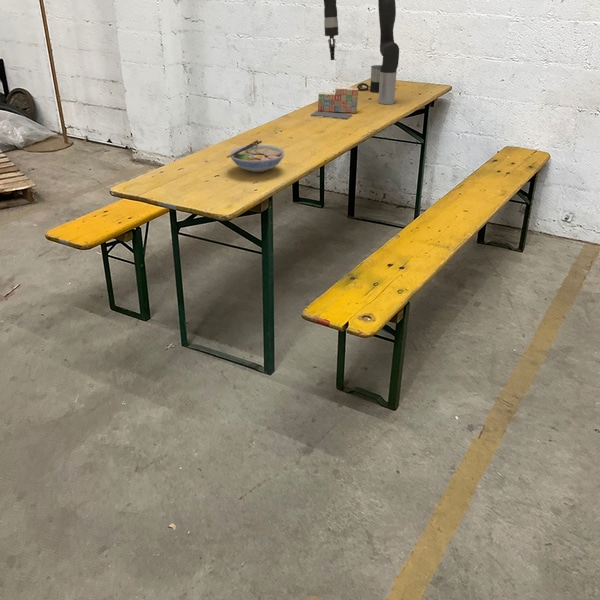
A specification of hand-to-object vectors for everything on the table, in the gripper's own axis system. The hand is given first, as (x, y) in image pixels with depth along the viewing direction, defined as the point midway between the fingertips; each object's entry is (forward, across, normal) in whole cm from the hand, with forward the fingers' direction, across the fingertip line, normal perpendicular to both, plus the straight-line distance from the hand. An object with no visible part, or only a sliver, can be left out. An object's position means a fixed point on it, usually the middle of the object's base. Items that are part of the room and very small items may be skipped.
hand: (332, 59), depth 348 cm
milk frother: (+24, +37, -24) cm, 50 cm away
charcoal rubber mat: (+26, -27, +2) cm, 37 cm away
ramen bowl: (+29, -118, +35) cm, 126 cm away
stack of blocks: (+25, -18, -1) cm, 31 cm away
